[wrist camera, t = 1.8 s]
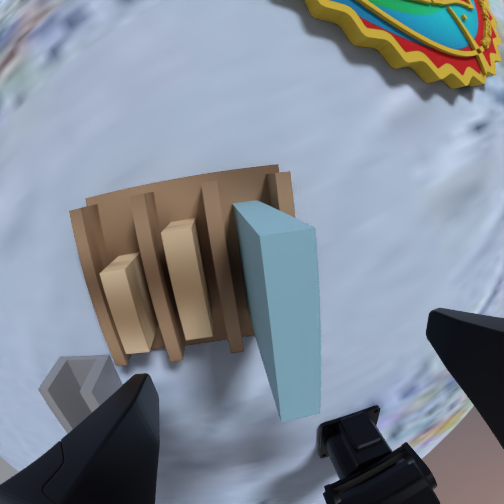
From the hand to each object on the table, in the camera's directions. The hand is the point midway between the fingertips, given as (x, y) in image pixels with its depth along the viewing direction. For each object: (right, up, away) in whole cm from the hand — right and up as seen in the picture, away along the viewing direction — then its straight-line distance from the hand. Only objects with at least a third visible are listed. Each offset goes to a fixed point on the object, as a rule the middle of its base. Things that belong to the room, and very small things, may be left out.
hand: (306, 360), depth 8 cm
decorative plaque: (+12, +32, +6) cm, 34 cm away
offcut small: (-9, +1, +10) cm, 13 cm away
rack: (-5, +2, +10) cm, 12 cm away
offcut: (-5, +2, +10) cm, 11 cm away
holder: (-14, -10, +12) cm, 21 cm away
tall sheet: (-2, +3, +10) cm, 11 cm away
